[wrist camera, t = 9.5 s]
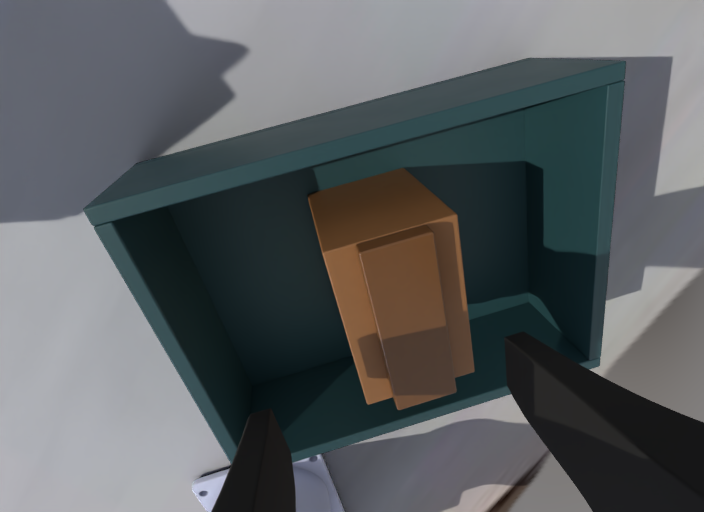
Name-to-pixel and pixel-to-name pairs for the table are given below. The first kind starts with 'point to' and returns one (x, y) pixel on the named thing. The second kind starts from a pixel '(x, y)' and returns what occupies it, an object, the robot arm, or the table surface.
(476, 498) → the table surface
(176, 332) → the open box
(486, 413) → the table surface
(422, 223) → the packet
